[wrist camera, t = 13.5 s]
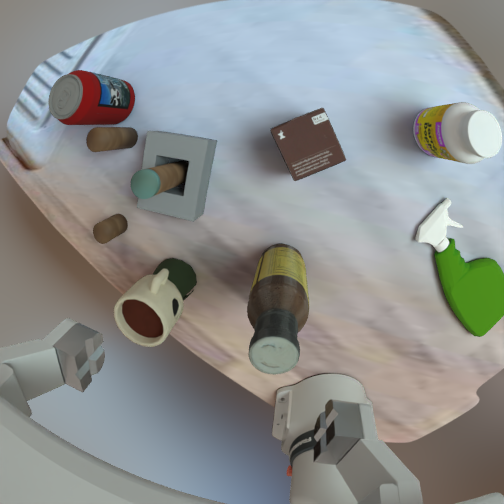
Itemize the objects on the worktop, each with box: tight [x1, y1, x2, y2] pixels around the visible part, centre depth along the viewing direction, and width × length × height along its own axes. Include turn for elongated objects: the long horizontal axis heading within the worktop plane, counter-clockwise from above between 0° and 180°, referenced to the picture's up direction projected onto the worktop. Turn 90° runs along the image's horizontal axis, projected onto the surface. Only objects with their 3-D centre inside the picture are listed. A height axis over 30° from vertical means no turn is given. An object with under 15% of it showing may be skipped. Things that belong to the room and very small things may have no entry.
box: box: [270, 108, 346, 181], centre depth 32 cm, size 6×6×7 cm
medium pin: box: [87, 127, 138, 152], centre depth 34 cm, size 3×3×8 cm
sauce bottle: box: [247, 244, 309, 374], centre depth 32 cm, size 6×6×20 cm
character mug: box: [114, 258, 197, 347], centre depth 38 cm, size 11×7×13 cm, turn 156°
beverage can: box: [49, 70, 135, 125], centre depth 30 cm, size 7×7×12 cm
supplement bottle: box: [413, 102, 502, 164], centre depth 26 cm, size 7×7×13 cm
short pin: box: [93, 214, 128, 244], centre depth 40 cm, size 3×3×5 cm
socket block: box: [137, 131, 217, 222], centre depth 37 cm, size 10×8×4 cm
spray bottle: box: [415, 198, 504, 337], centre depth 36 cm, size 3×11×24 cm
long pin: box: [131, 161, 189, 199], centre depth 33 cm, size 3×3×11 cm
